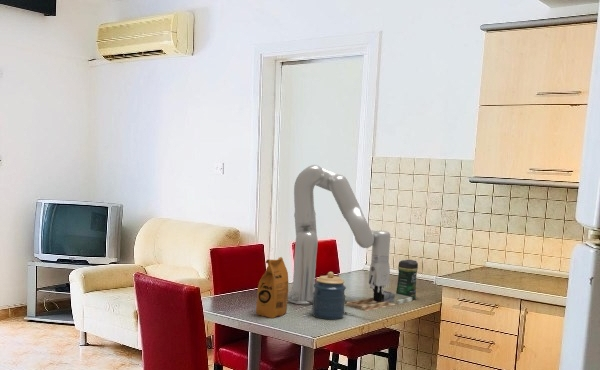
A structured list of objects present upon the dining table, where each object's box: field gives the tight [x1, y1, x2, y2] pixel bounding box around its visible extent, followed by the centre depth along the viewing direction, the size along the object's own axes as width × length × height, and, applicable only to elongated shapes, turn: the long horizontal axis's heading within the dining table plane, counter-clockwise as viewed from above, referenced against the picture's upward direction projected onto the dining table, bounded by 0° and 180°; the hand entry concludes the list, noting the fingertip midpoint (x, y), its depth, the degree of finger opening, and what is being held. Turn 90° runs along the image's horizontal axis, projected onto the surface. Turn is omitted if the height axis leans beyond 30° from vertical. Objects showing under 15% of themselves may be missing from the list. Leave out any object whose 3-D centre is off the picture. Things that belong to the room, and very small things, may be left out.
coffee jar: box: [395, 259, 419, 300], centre depth 265 cm, size 10×8×19 cm
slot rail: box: [344, 292, 414, 312], centre depth 246 cm, size 36×12×3 cm, turn 137°
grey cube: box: [383, 290, 396, 303], centre depth 251 cm, size 4×4×4 cm
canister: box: [311, 271, 347, 320], centre depth 223 cm, size 13×13×18 cm
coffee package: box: [255, 256, 289, 319], centre depth 219 cm, size 10×12×22 cm
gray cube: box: [376, 292, 390, 303], centre depth 247 cm, size 4×4×4 cm
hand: (377, 300), depth 244 cm, fingers closed
